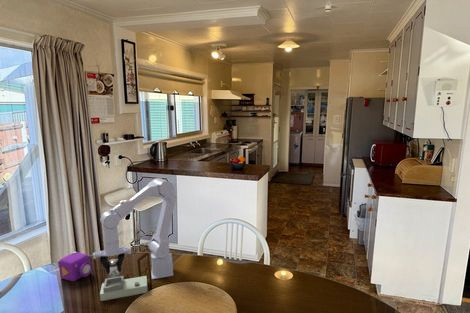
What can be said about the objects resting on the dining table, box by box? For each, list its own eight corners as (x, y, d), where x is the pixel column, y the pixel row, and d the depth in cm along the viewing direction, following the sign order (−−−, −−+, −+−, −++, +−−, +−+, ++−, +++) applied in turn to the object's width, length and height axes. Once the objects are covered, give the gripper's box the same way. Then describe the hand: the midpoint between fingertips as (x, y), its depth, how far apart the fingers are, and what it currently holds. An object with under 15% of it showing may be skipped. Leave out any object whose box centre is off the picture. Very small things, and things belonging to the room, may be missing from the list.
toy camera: (83, 284, 133) (81, 263, 131) (56, 281, 136) (54, 260, 134) (99, 271, 143) (97, 251, 142) (73, 268, 146) (71, 249, 144)
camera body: (147, 281, 134) (146, 271, 133) (147, 292, 126) (146, 281, 125) (102, 289, 129) (101, 278, 128) (100, 301, 121) (99, 289, 120)
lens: (120, 271, 130) (119, 258, 129) (119, 276, 126) (118, 263, 125) (109, 272, 129) (108, 259, 127) (108, 278, 125) (107, 264, 124)
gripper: (130, 234, 130) (132, 264, 132) (93, 239, 126) (96, 269, 129) (129, 241, 124) (132, 272, 126) (90, 246, 120) (94, 278, 122)
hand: (114, 271), depth 127 cm, fingers closed on lens, 4 cm apart
